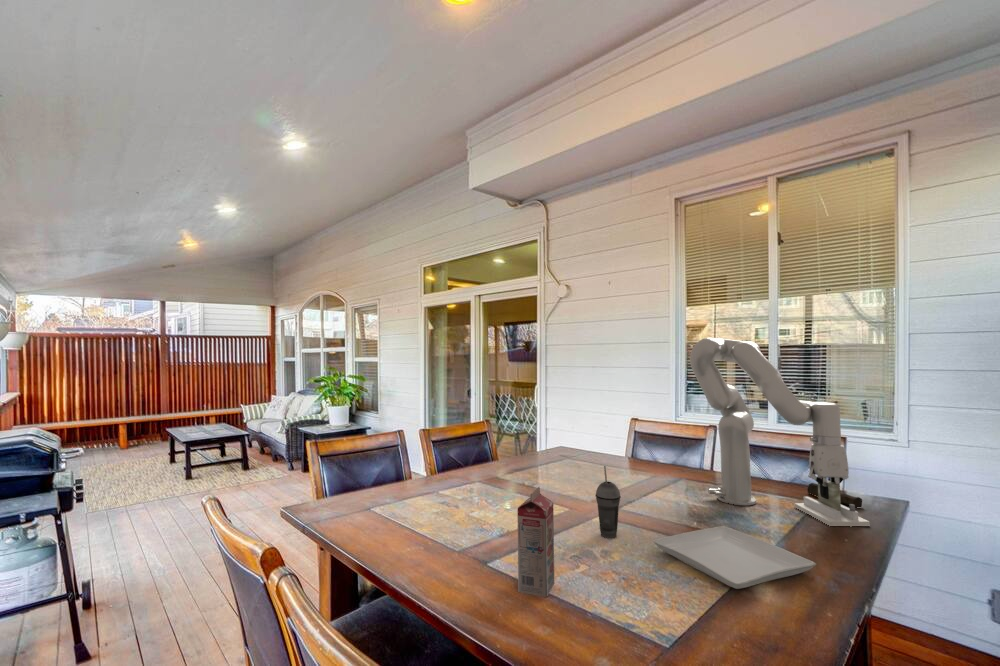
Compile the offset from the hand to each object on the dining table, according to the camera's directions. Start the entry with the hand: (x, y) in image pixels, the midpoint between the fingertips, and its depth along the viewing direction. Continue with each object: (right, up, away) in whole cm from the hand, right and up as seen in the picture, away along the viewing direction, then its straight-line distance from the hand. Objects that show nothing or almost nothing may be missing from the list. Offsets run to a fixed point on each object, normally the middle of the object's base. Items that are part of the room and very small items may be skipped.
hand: (829, 497), depth 155 cm
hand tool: (+12, -7, +16) cm, 21 cm away
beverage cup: (-75, -6, -15) cm, 77 cm away
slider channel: (0, -6, 0) cm, 6 cm away
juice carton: (-99, -5, -46) cm, 109 cm away
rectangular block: (0, -3, 0) cm, 3 cm away
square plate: (-49, -6, -33) cm, 59 cm away
